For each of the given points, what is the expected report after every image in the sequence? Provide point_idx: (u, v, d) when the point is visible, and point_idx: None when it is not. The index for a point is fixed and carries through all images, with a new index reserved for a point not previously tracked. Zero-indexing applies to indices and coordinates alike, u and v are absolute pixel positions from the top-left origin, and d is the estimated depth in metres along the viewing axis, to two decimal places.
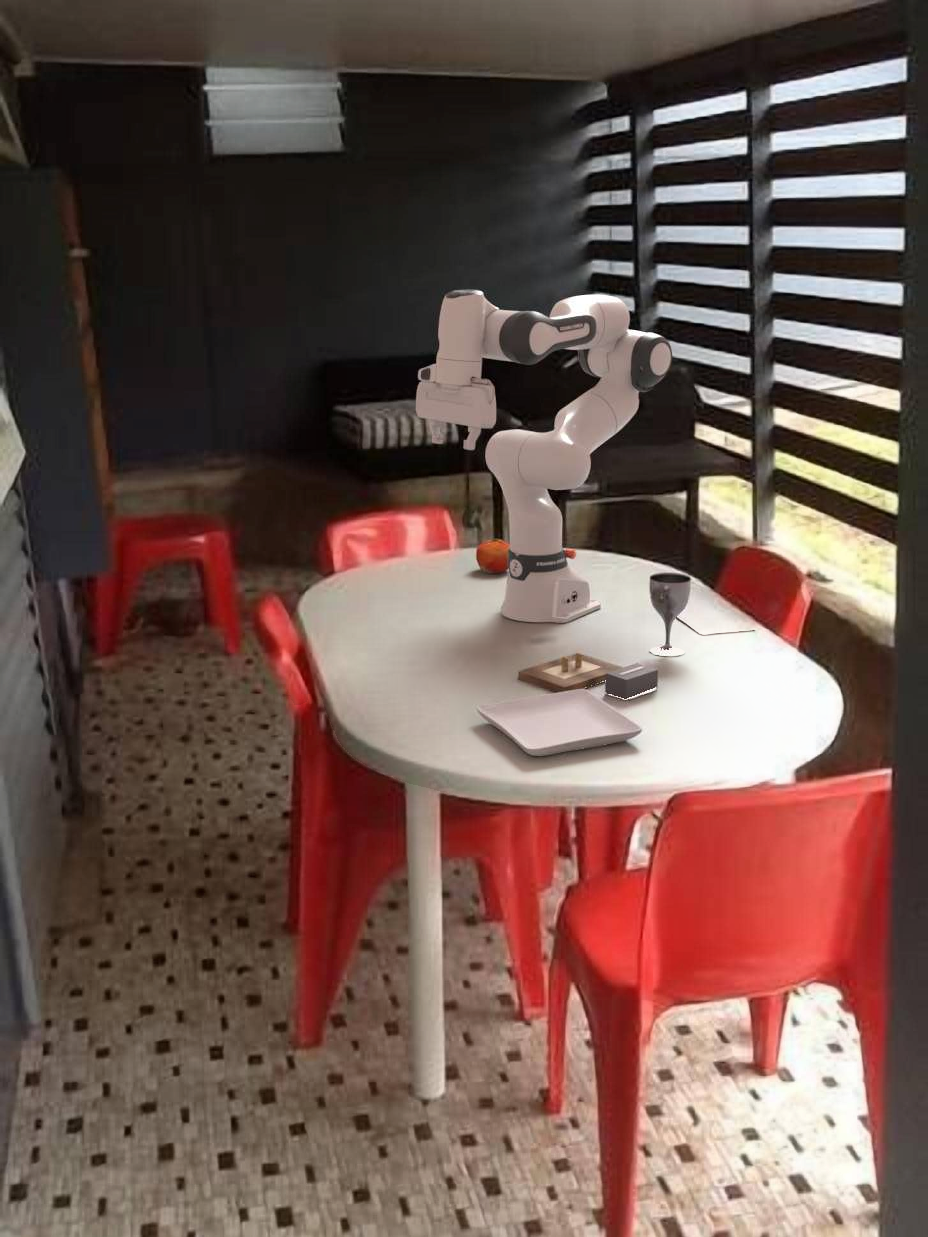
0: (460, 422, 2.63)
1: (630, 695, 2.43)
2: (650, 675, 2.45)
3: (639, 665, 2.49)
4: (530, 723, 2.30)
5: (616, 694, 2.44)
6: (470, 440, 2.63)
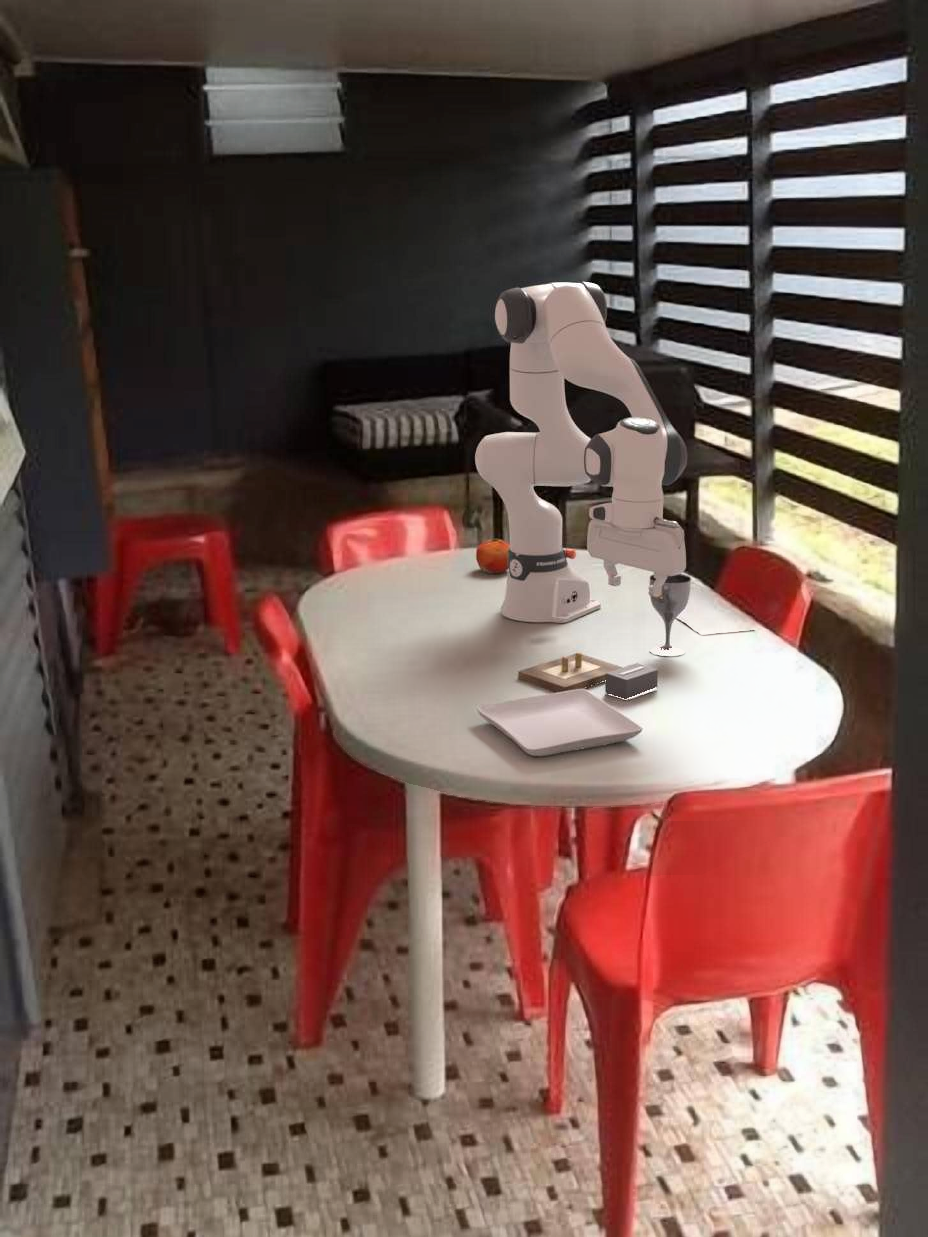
0: (644, 568, 2.36)
1: (630, 695, 2.43)
2: (650, 675, 2.45)
3: (639, 665, 2.49)
4: (530, 723, 2.30)
5: (616, 694, 2.44)
6: (657, 587, 2.36)
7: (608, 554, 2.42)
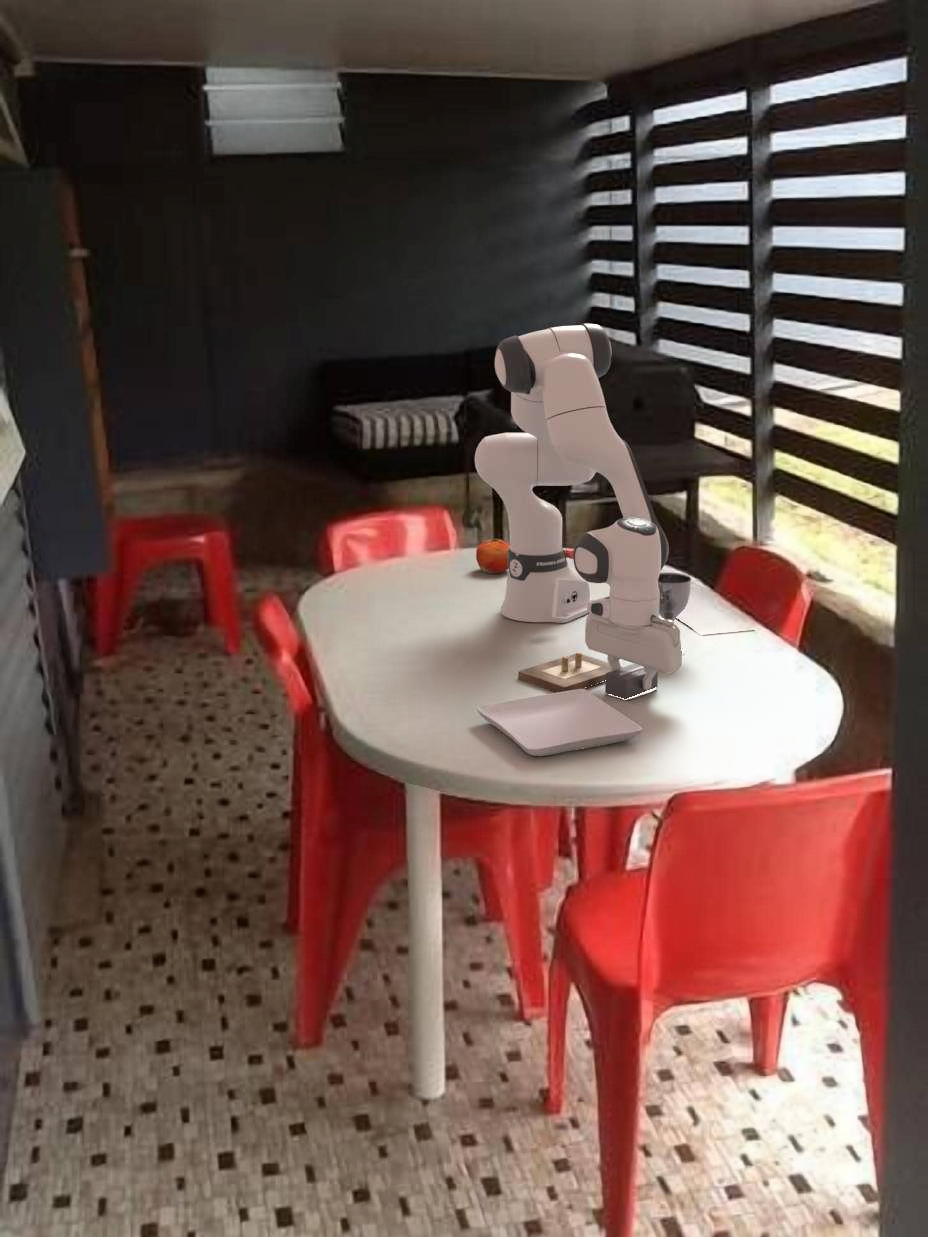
0: (641, 664, 2.41)
1: (630, 695, 2.43)
2: None
3: (639, 665, 2.49)
4: (530, 723, 2.30)
5: (616, 694, 2.44)
6: (647, 680, 2.42)
7: (606, 648, 2.47)
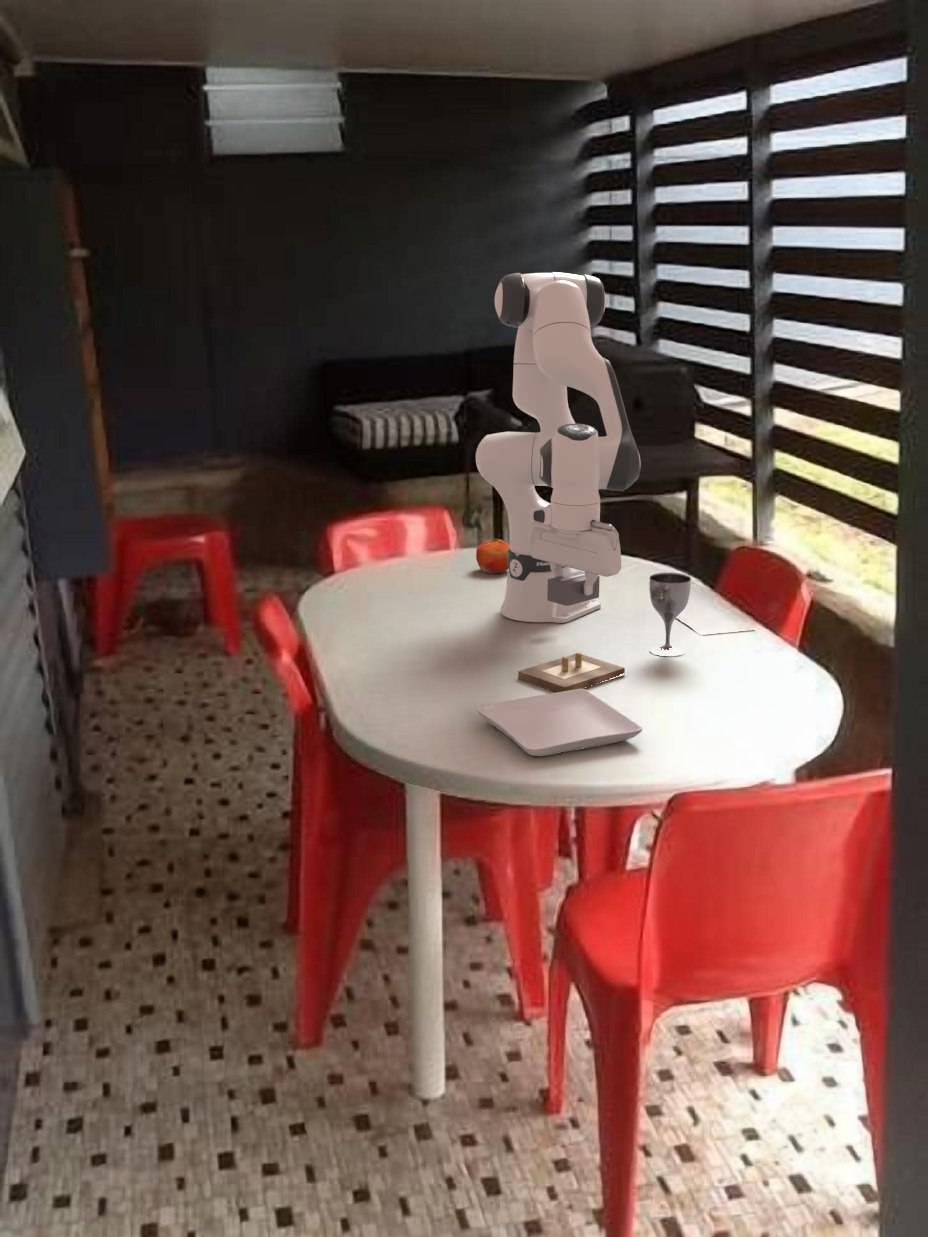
0: (582, 569, 2.45)
1: (571, 600, 2.46)
2: None
3: (581, 573, 2.52)
4: (530, 723, 2.30)
5: (558, 599, 2.47)
6: (588, 585, 2.46)
7: (548, 555, 2.50)
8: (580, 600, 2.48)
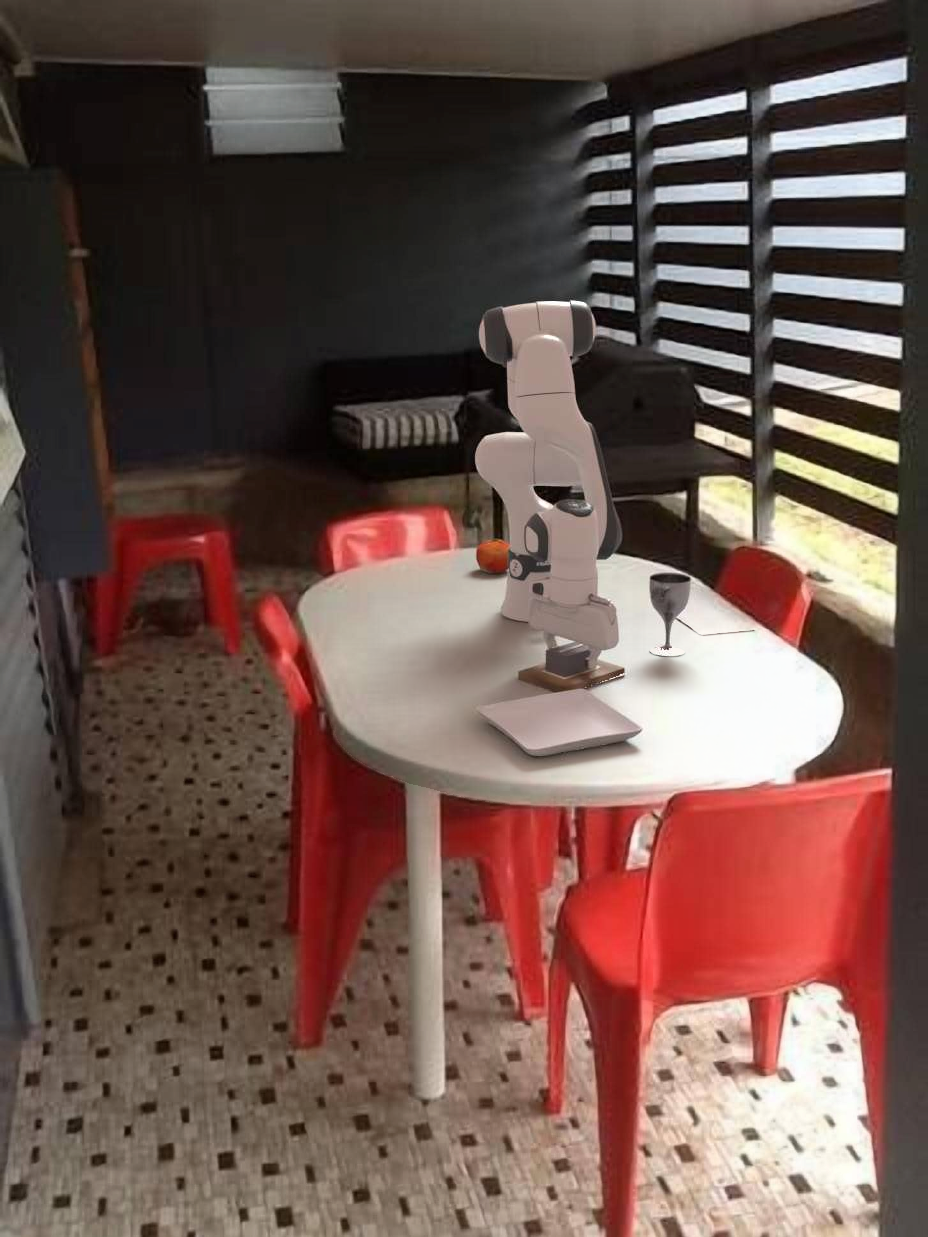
0: (580, 641, 2.49)
1: (569, 671, 2.50)
2: (589, 652, 2.53)
3: (579, 643, 2.56)
4: (530, 723, 2.30)
5: (555, 670, 2.51)
6: (592, 659, 2.49)
7: (547, 627, 2.54)
8: (578, 671, 2.52)
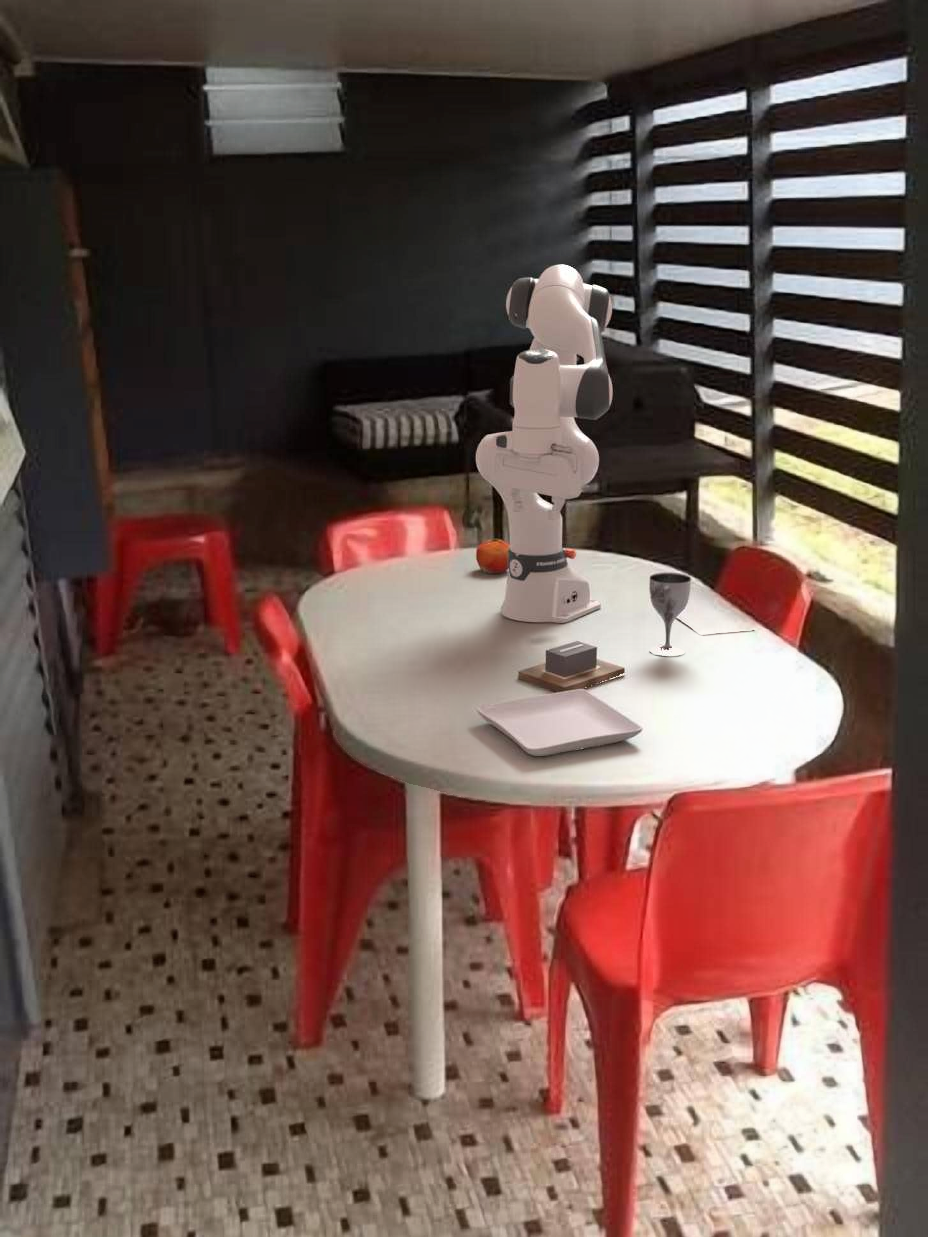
0: (543, 492, 2.48)
1: (569, 671, 2.50)
2: (589, 652, 2.53)
3: (579, 643, 2.56)
4: (530, 723, 2.30)
5: (555, 670, 2.51)
6: (555, 510, 2.49)
7: (511, 481, 2.54)
8: (578, 671, 2.52)
